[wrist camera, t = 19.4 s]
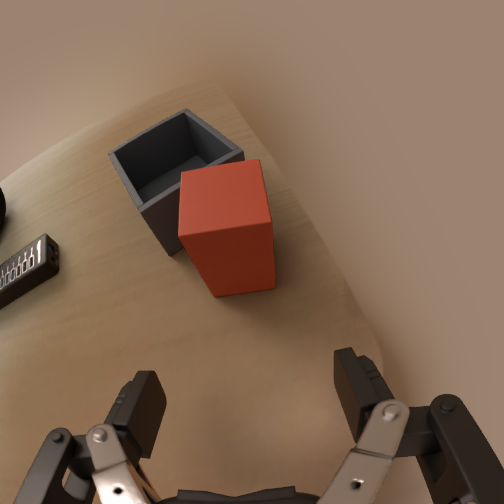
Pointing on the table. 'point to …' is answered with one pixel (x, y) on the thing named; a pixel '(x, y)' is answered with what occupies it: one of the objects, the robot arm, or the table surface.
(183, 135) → the tub
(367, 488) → the robot arm
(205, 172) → the block
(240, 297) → the table surface
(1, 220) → the portable speaker
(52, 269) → the multiport hub
